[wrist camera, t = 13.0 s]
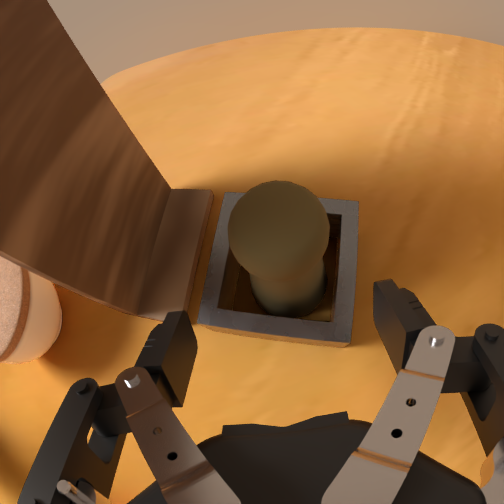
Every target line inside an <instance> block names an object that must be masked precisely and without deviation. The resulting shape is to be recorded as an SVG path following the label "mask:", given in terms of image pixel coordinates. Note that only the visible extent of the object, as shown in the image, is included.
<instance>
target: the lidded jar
mask: <svg viewBox="0 0 504 504" xmlns="http://www.w3.org/2000/svg"><path fill="white" fill-rule="evenodd" d="M61 326H62V309H61V305H60V303H59V298H58V295H57V292H56V290H55V287H54V285H53V283H52V282H51V281H49V280H47V279H45V278H42V277H40V276H38V275H36V274H34V273H32V272H30V271H28V270H26V269H24V268H22V267H20V266H18V265H16V264H14V263H13V262H11V261H9V260H7V259H5V258H3V257H1V256H0V362H1V363H8V364H21V363H27V362H31V361H33V360H36V359H38V358H39V357H41V356H42V355H43V354H45V353H46V352H47V351H48V350H49V348H50V347H51V345H53V343H54V342H55V341H56V340H57V338H58V336H59V333H60V330H61Z"/></svg>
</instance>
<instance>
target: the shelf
mask: <svg viewBox="0 0 504 504" xmlns="http://www.w3.org/2000/svg"><path fill="white" fill-rule="evenodd" d="M213 197H214V195H213V193H212V191H211V190H198V189H171V188H170V186H169V185H168V183H167V182H166V181H165V179H164V178H163V176H162V175H161V173H160V172H159V171H158V169H157V168H156V166H155V165H154V163H153V162H152V160H151V159H150V158H149V156H148V155H147V153H146V152H145V150H144V149H143V147H142V146H141V145H140V143H139V142H138V140H137V139H136V137H135V136H134V134H133V133H132V131H131V130H130V128H129V127H128V125H127V124H126V122H125V121H124V119H123V118H122V117H121V115H120V114H119V112H118V111H117V109H116V108H115V106H114V105H113V103H112V102H111V100H110V99H109V97H108V96H107V94H106V93H105V91H104V89H103V88H102V86H101V85H100V83H99V82H98V80H97V79H96V77H95V76H94V74H93V73H92V71H91V70H90V68H89V67H88V65H87V64H86V62H85V61H84V59H83V57H82V56H81V54H80V53H79V51H78V49H77V48H76V47H75V45H74V43H73V42H72V40H71V38H70V37H69V35H68V34H67V32H66V30H65V29H64V27H63V26H62V24H61V22H60V21H59V19H58V18H57V16H56V14H55V13H54V11H53V9H52V8H51V6H50V5H49V3H48V1H47V0H0V256H1V257H3V258H5V259H7V260H9V261H11V262H13V263H14V264H16V265H18V266H20V267H22V268H24V269H26V270H28V271H30V272H32V273H34V274H36V275H38V276H40V277H42V278H45V279H47V280H49V281H51V282H53V283H55V284H57V285H59V286H62V287H64V288H66V289H68V290H70V291H73V292H75V293H77V294H79V295H82V296H84V297H86V298H89V299H91V300H93V301H96V302H98V303H101V304H103V305H105V306H108V307H110V308H113V309H115V310H118V311H120V312H123V313H126V314H130V315H135V316H139V317H144V318H149V319H153V320H158V321H164V319H165V317H166V315H167V313H168V312H173V311H182V310H185V311H186V312H187V311H188V306H189V301H190V296H191V292H192V287H193V282H194V278H195V273H196V269H197V264H198V260H199V255H200V251H201V247H202V242H203V238H204V234H205V230H206V225H207V221H208V217H209V213H210V209H211V205H212V201H213Z"/></svg>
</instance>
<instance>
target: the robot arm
mask: <svg viewBox="0 0 504 504" xmlns="http://www.w3.org/2000/svg"><path fill="white" fill-rule="evenodd" d="M373 317H374V322H375V326H376V328H377V330H378V333H379V335H380V337H381V339H382V341H383V343H384V346H385V348H386V350H387V352H388V355H389V357H390V359H391V361H392V364H393V366H394V368H395V371H396V373H397V375H398V376H397V378H396V380H395V382H394V384H393V386H392V388H391V390H390V392H389V394H388V396H387V398H386V400H385V402H384V403H383V405H382V407H381V409H380V411H379V413H378V415H377V416H376V418H375V420H374V422H373V424H372V423H369V422H366V421H361V420H349V419H348V414H347V411H345V412H339V413H334V414H328V415H322V416H316V417H313V418H310V419H308V420H305V421H302V422H299V423H296V424H293V425H290V426H287V427H277V426H268V425H259V424H239V425H223V429H222V434H220V435H216V436H213V437H211V438H209V439H206V440H204V441H203V442H201V443H199V444H198V445H196V444H195V443H194V442H193V440H192V439H191V437H190V436H189V435H188V433H187V432H186V430H185V429H184V427H183V426H182V424H181V423H180V421H179V420H178V418H177V417H176V415H175V414H174V412H173V411H172V407H183V403H184V399H185V396H186V392H187V388H188V384H189V380H190V377H191V373H192V369H193V365H194V362H195V358H196V354H197V349H198V347H197V340H196V336H195V334H194V331H193V328H192V325H191V322H190V320H189V317H188V314H187V312H186V311H185V310H182V311H173V312H168V313H167V315H166V317H165V319H164V321H163V323H162V324H158V325H157V326H156V327H155V328H154V329H153V330H152V331H151V333H150V335H149V337H148V339H147V341H146V343H145V345H144V347H143V349H142V351H141V353H140V355H139V357H138V360H137V362H136V364H135V366H134V367H131V368H128V369H126V370H124V371H123V372H122V373H120V374H119V375H118V377H117V378H116V381H115V383H113V384H109V385H105V386H100V387H99V385H98V384H97V382H96V381H95V380H94V379H92V378H84V379H81V380H79V381H77V382H76V383H74V384H73V385H72V386H71V387H70V389H69V391H68V393H67V395H66V397H65V398H64V400H63V402H62V404H61V406H60V408H59V410H58V412H57V414H56V416H55V418H54V420H53V422H52V424H51V426H50V428H49V430H48V432H47V435H46V437H45V439H44V441H43V443H42V445H41V447H40V450H39V452H38V454H37V456H36V458H35V461H34V463H33V465H32V468H31V470H30V472H29V475H28V477H27V479H26V482H25V484H24V487H23V489H22V492H21V494H20V497H19V499H18V503H17V504H111V502H110V501H109V500H108V499H109V495H110V491H111V488H112V484H113V480H114V476H115V473H116V469H117V466H118V462H119V459H120V455H121V452H122V448H123V445H124V441H125V438H126V435H127V433H130V432H132V433H133V435H134V437H135V439H136V441H137V443H138V445H139V448H140V450H141V452H142V454H143V456H144V458H145V460H146V462H147V463H148V465H149V467H150V469H151V471H152V473H153V475H154V477H155V478H156V481H155V482H153V483H152V484H151V485H150V486H149V487H147V488H146V489H145V490H144V491H142V492H141V493H140V494H139V495H137V496H136V497H135V498H134V499H132V500H131V501H130V502H129V503H127V504H504V329H503V328H502V327H500V326H498V325H495V324H483V325H481V326H479V327H478V328H477V329H476V331H475V335H474V336H470V337H455V336H454V334H453V332H452V331H451V330H449V329H448V328H446V327H443V326H437V325H436V324H435V322H434V321H433V319H432V318H431V317H430V315H429V314H428V312H427V311H426V310H425V308H424V307H423V305H422V304H421V303H420V302H419V300H418V299H417V297H416V296H415V295H414V293H412V292H411V291H409V290H407V289H406V288H401V289H399V288H398V287H397V286H396V284H395V283H394V281H393V280H392V279H387V280H382V281H377V282H374V286H373ZM458 392H460V394H461V396H462V398H463V400H464V403H465V405H466V407H467V409H468V412H469V414H470V416H471V419H472V421H473V423H474V426H475V428H476V431H477V433H478V436H479V438H480V441H481V443H482V446H483V448H484V451H485V454H486V457H487V458H486V459H485V461H484V462H483V464H482V466H481V471H480V475H481V486H480V488H479V486H478V485H477V484H475V483H474V482H473V481H471V480H470V479H468V478H466V477H464V476H462V475H460V474H459V473H457V472H455V471H453V470H451V469H450V468H448V467H446V466H444V465H443V464H441V463H439V462H437V461H436V460H434V459H432V458H430V457H429V456H427V455H425V454H424V453H422V452H420V451H419V448H420V445H421V443H422V441H423V438H424V436H425V433H426V431H427V428H428V426H429V423H430V421H431V418H432V415H433V413H434V410H435V407H436V404H437V401H438V398H439V395H440V393H458ZM91 427H92V428H93V429H94V430H93V432H92V435H91V437H90V440H89V443H88V444H87V435H88V433H89V430H90V428H91Z"/></svg>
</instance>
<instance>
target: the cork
mask: <svg viewBox="0 0 504 504" xmlns="http://www.w3.org/2000/svg"><path fill="white" fill-rule="evenodd" d="M329 231H330V225H329V221H328V217H327V213H326V211H325V208H324V207H323V205H322V204H321V202H320V201H319V199H318V198H317V196H316V195H314V194H313V193H312V192H310V191H309V190H308V189H306V188H305V187H302V186H300V185H297V184H294V183H291V182H287V181H271V182H266V183H262V184H260V185H258V186H256V187H254V188H252V189H250V190H249V191H248V192H247V193H245V194H244V195H243V196H242V197H241V198H240V199H239V200H238V201H237V203H236V205H235V206H234V208H233V209H232V211H231V213H230V218H229V222H228V240H229V246H230V248H231V250H232V252H233V254H234V256H235V258H236V260H237V261H238V262H239V263H240V264H241V265H242V266H243V267H244V268H245V269H246V270H247V271H248V272H249V275H250V281H251V288H252V294H253V296H254V298H255V300H256V302H257V304H258V305H259V306H260V307H261V308H262V309H263V310H264V311H265V312H266V313H268V314H270V315H272V316H277V317H285V318H299V317H303V316H305V315H306V314H308V313H310V312H312V311H313V310H314V309H315V308H316V307H317V306H318V305H319V304H320V303H321V301H322V299H323V297H324V295H325V293H326V288H327V275H326V271H325V266H324V262H323V258H322V257H323V255H324V253H325V250H326V248H327V246H328V241H329Z"/></svg>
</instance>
